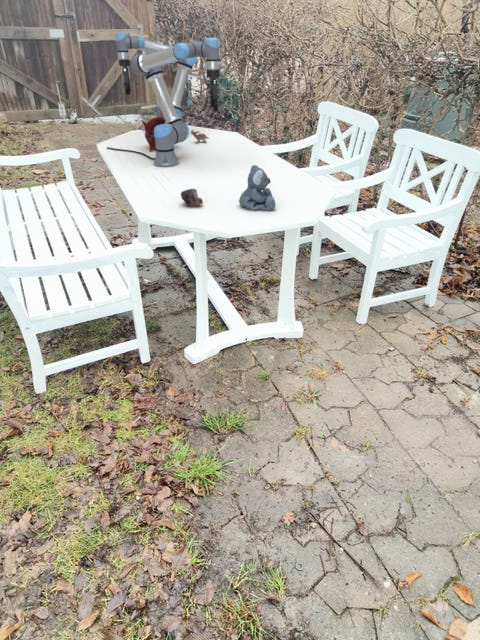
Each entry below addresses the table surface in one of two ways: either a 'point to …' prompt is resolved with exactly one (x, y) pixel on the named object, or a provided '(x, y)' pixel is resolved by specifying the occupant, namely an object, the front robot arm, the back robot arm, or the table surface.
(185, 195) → the rock
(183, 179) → the table surface
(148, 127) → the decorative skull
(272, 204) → the koala plush
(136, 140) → the table surface
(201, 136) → the dinosaur figurine
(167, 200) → the table surface
